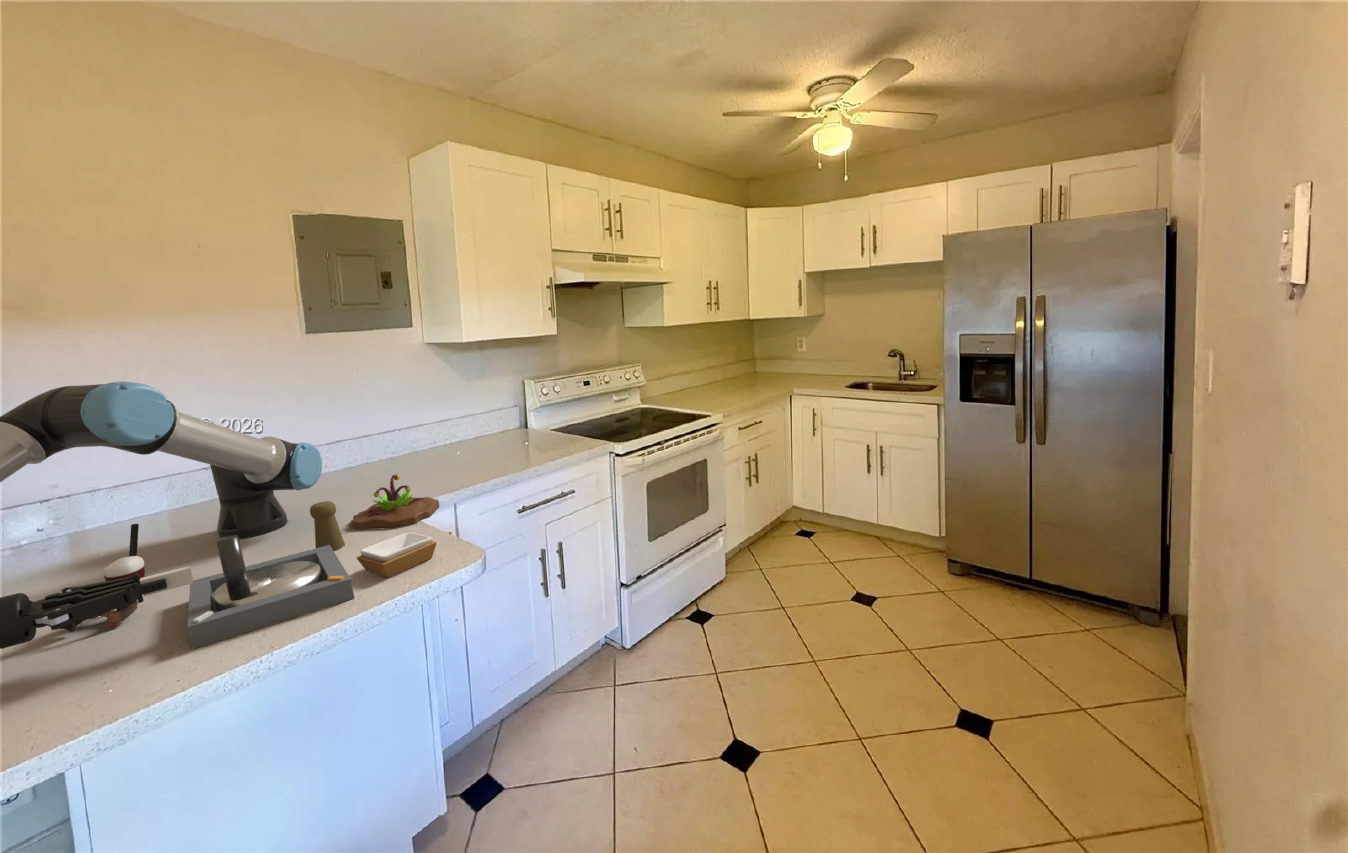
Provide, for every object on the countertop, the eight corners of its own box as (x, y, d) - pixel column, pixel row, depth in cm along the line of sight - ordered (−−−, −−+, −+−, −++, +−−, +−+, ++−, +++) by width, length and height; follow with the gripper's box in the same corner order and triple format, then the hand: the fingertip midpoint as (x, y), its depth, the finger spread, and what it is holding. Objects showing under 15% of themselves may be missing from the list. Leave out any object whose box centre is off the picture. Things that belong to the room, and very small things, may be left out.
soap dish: (386, 582, 120) (381, 558, 119) (358, 573, 125) (353, 550, 124) (439, 557, 130) (436, 535, 129) (412, 551, 135) (408, 529, 134)
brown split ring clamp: (118, 610, 117) (130, 575, 116) (138, 641, 113) (151, 604, 112) (31, 626, 106) (44, 587, 105) (50, 660, 102) (64, 620, 101)
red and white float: (112, 599, 122) (95, 545, 119) (95, 594, 125) (78, 541, 122) (166, 577, 130) (150, 525, 127) (149, 573, 133) (134, 522, 130)
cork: (332, 553, 137) (323, 507, 135) (309, 553, 138) (300, 507, 136) (351, 543, 143) (342, 498, 141) (329, 542, 144) (320, 498, 142)
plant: (451, 503, 169) (445, 465, 167) (413, 529, 150) (406, 486, 148) (385, 506, 171) (378, 468, 169) (339, 531, 152) (331, 489, 150)
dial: (265, 571, 125) (252, 511, 122) (341, 569, 122) (329, 508, 120) (191, 612, 108) (174, 544, 105) (276, 612, 106) (261, 541, 103)
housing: (194, 599, 118) (189, 579, 117) (333, 561, 132) (329, 543, 131) (193, 649, 99) (186, 625, 98) (354, 598, 113) (350, 576, 112)
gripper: (10, 632, 96) (197, 583, 110) (-14, 666, 86) (196, 607, 99) (-4, 588, 94) (187, 544, 108) (-30, 618, 84) (185, 565, 98)
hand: (191, 574), depth 104 cm, fingers closed
